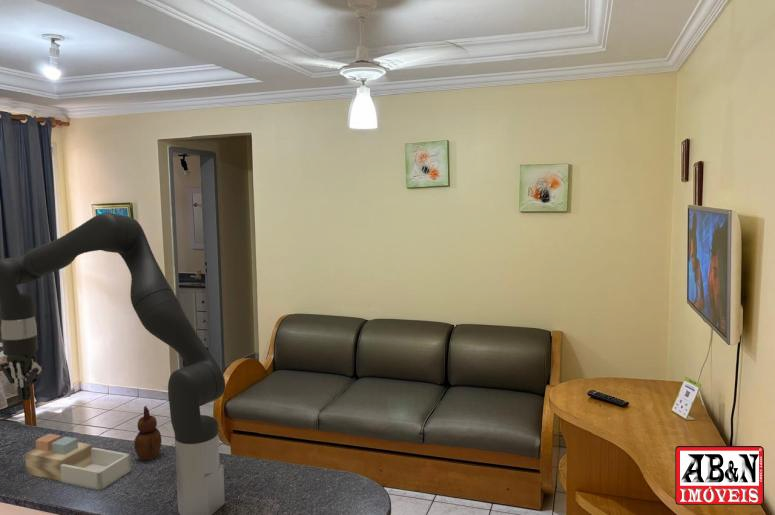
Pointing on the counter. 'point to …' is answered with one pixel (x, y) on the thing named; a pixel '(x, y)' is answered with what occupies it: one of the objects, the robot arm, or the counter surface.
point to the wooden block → (56, 461)
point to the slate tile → (65, 445)
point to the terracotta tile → (46, 442)
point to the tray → (97, 470)
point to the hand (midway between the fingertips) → (24, 399)
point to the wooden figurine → (147, 437)
